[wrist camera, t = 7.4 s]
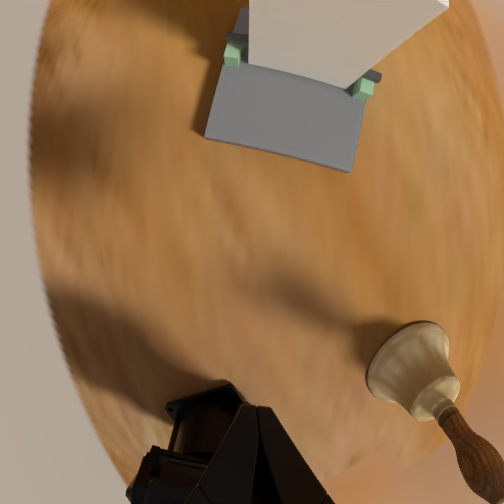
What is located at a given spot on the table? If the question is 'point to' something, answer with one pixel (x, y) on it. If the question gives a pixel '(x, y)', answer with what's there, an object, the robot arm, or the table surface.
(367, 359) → the table surface
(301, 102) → the gauge base
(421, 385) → the hand bell
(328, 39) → the cream block
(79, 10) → the table surface
